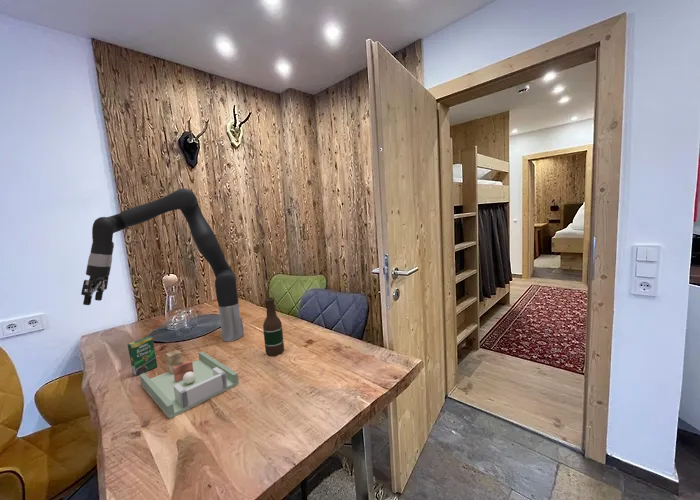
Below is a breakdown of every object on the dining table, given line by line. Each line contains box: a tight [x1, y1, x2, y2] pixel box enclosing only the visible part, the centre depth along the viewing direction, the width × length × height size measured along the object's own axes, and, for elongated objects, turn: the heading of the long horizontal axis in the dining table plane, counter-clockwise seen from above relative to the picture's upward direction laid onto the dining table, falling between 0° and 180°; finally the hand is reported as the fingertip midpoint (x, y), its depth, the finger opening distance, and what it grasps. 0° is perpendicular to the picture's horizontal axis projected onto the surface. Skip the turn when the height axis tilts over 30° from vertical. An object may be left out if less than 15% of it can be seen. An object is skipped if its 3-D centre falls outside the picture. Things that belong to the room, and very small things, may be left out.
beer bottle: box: [262, 297, 285, 357], centre depth 124 cm, size 8×8×24 cm
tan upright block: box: [165, 349, 193, 382], centre depth 110 cm, size 6×12×7 cm, turn 49°
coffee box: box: [127, 335, 158, 377], centre depth 116 cm, size 8×3×13 cm, turn 150°
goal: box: [173, 367, 228, 409], centre depth 97 cm, size 14×7×5 cm, turn 139°
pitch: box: [139, 350, 240, 420], centre depth 104 cm, size 22×30×4 cm
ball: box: [183, 372, 196, 384], centre depth 104 cm, size 4×4×4 cm
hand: (92, 302), depth 121 cm, fingers open, 8 cm apart
